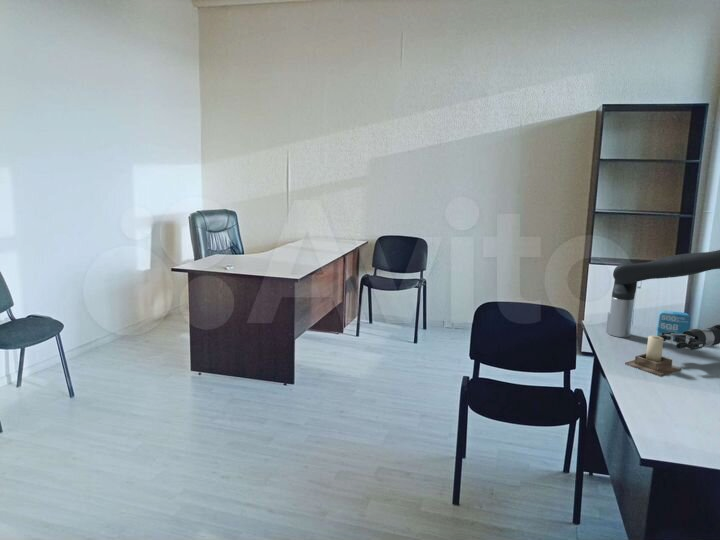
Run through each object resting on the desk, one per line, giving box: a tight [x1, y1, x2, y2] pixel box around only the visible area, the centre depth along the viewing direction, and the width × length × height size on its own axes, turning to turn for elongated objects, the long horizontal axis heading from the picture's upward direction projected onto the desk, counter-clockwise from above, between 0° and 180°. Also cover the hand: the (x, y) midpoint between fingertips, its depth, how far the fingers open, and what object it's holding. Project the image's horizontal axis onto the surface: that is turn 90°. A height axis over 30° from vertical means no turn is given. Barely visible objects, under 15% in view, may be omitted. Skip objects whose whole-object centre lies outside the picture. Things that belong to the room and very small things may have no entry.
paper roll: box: [645, 335, 664, 363], centre depth 214 cm, size 5×5×11 cm
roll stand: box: [624, 353, 682, 377], centre depth 215 cm, size 14×14×4 cm
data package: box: [656, 310, 691, 341], centre depth 249 cm, size 12×4×12 cm, turn 66°
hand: (667, 342), depth 216 cm, fingers open, 8 cm apart
